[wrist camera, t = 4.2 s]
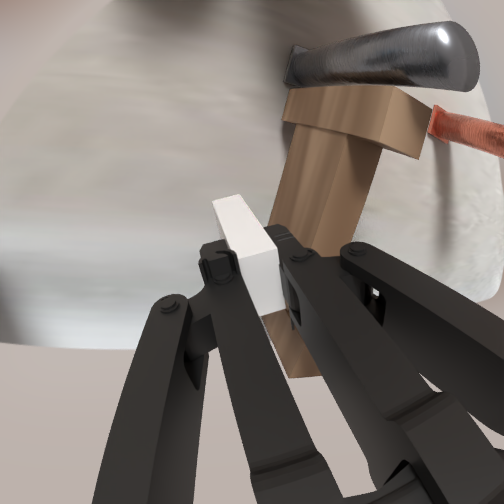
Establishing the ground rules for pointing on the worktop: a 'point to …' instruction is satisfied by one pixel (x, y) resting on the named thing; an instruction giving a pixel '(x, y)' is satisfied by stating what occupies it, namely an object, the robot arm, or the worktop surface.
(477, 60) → the gate posts
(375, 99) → the gate
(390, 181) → the worktop surface
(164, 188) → the worktop surface
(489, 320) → the robot arm
